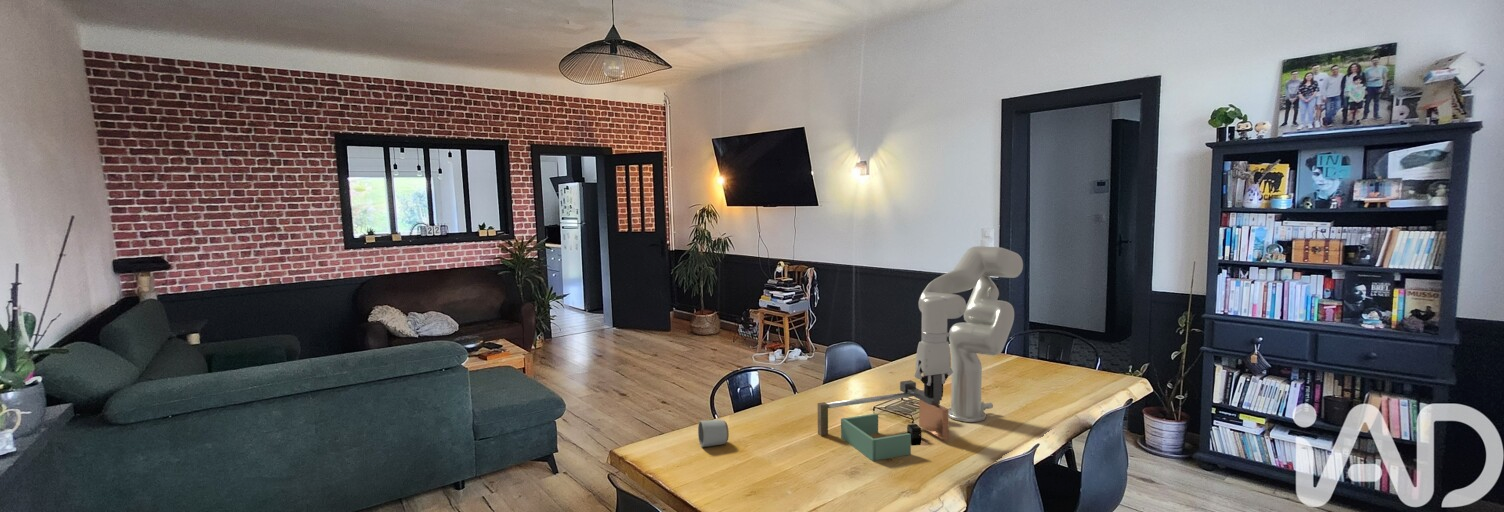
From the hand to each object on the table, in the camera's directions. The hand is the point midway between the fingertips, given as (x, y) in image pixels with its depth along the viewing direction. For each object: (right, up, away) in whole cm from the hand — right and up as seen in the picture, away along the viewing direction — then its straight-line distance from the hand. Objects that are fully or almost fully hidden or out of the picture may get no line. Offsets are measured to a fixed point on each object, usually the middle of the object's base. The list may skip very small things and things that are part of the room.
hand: (933, 395), depth 197 cm
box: (-19, -14, -6) cm, 24 cm away
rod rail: (-15, -12, +11) cm, 22 cm away
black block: (-6, -14, -1) cm, 15 cm away
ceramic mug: (-68, -14, -1) cm, 70 cm away
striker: (-1, -11, +6) cm, 12 cm away
